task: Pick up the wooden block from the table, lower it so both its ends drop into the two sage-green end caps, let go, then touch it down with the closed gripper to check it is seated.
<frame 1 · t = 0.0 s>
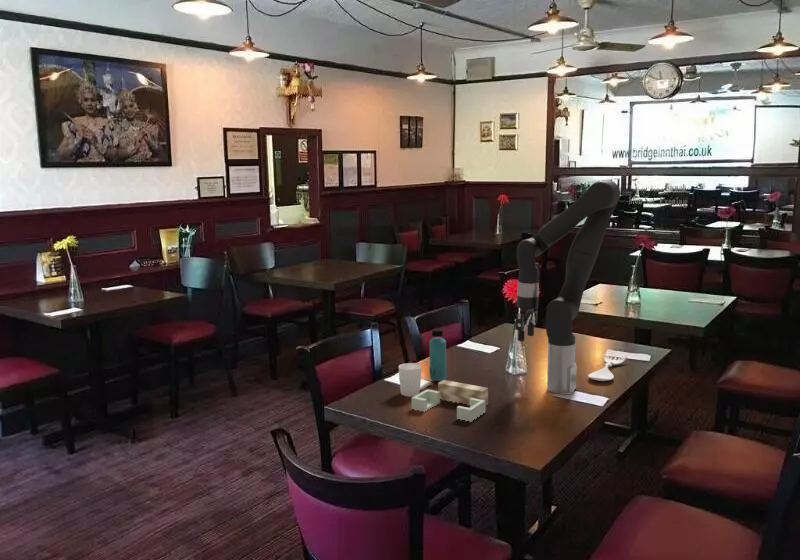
hand: (525, 338, 239), 17 cm above the table, tool pointing down, fingers open, 8 cm apart
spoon: (607, 373, 254), on the table
end cap a: (471, 415, 213), on the table
end cap b: (426, 406, 222), on the table
wooden block: (462, 402, 226), on the table
white cup: (410, 394, 235), on the table
beverage bottle: (438, 382, 247), on the table
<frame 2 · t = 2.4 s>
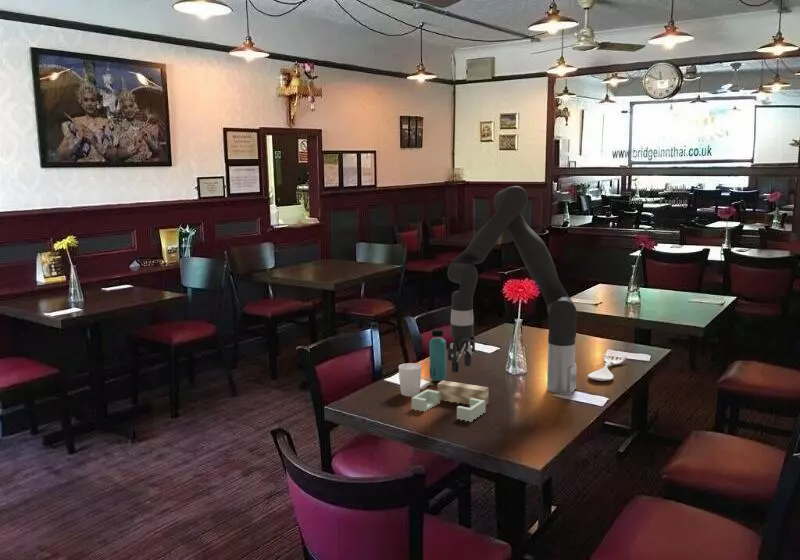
hand: (461, 368, 224), 11 cm above the table, tool pointing down, fingers open, 8 cm apart
nothing on the table moved.
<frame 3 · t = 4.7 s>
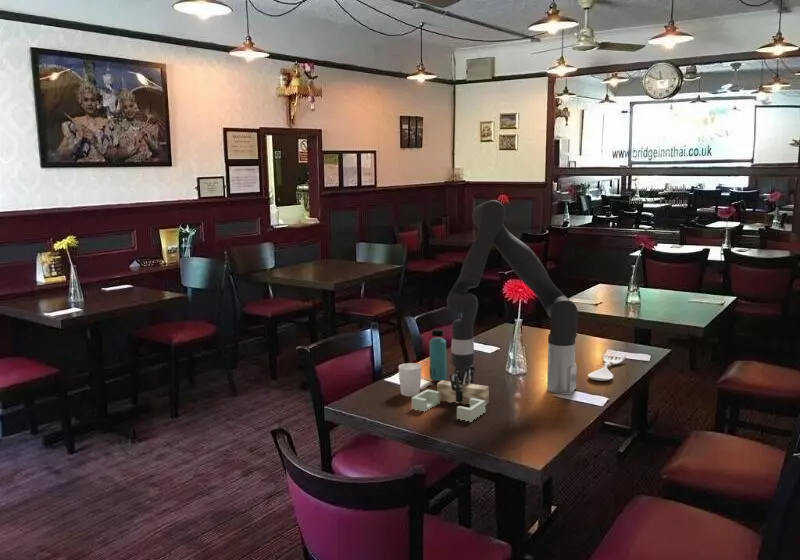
hand: (462, 399, 225), 1 cm above the table, tool pointing down, fingers closed on wooden block, 4 cm apart
wooden block: (462, 401, 226), on the table, touching gripper
everything else where it was.
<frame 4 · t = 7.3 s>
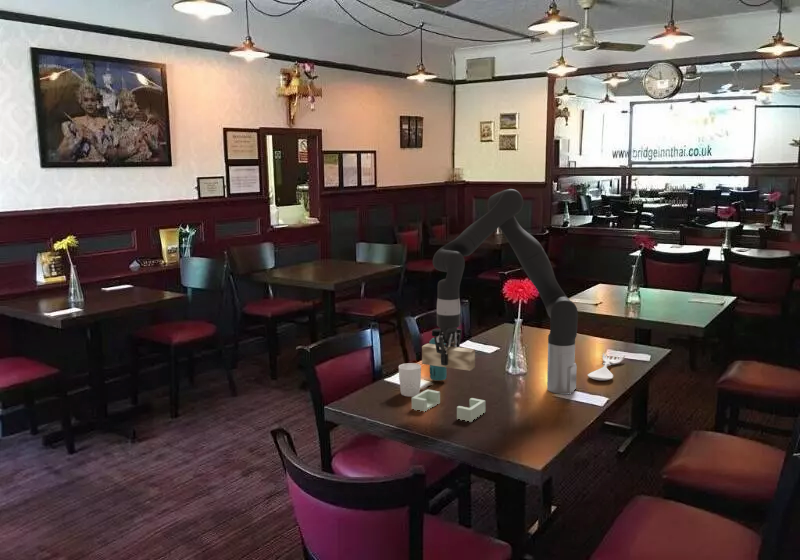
hand: (448, 362, 216), 16 cm above the table, tool pointing down, fingers closed on wooden block, 4 cm apart
wooden block: (448, 365, 217), point 15 cm above the table, touching gripper
everything else where it was.
when the fingers open (3 cm above the table, at t = 10.1 s): wooden block drops 1 cm, resting on end cap a, end cap b.
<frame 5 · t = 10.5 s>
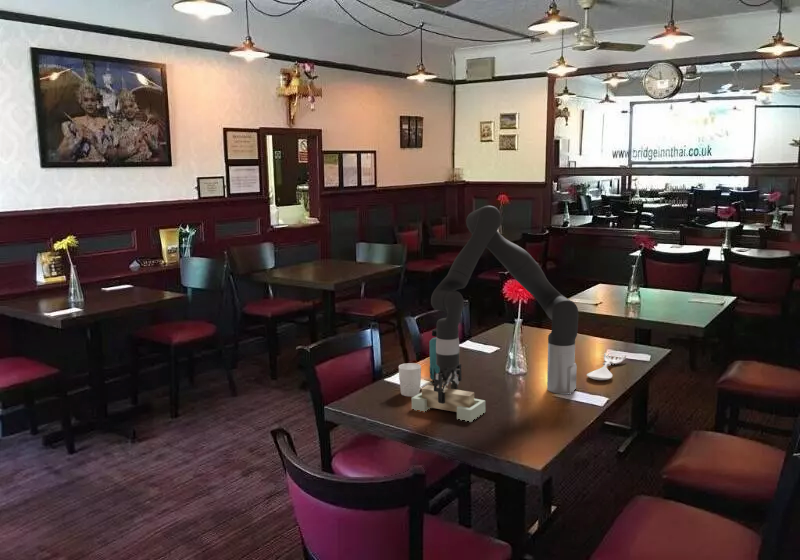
hand: (448, 399, 217), 4 cm above the table, tool pointing down, fingers open, 8 cm apart
wooden block: (447, 408, 217), point 1 cm above the table, touching end cap a, end cap b
everything else where it was.
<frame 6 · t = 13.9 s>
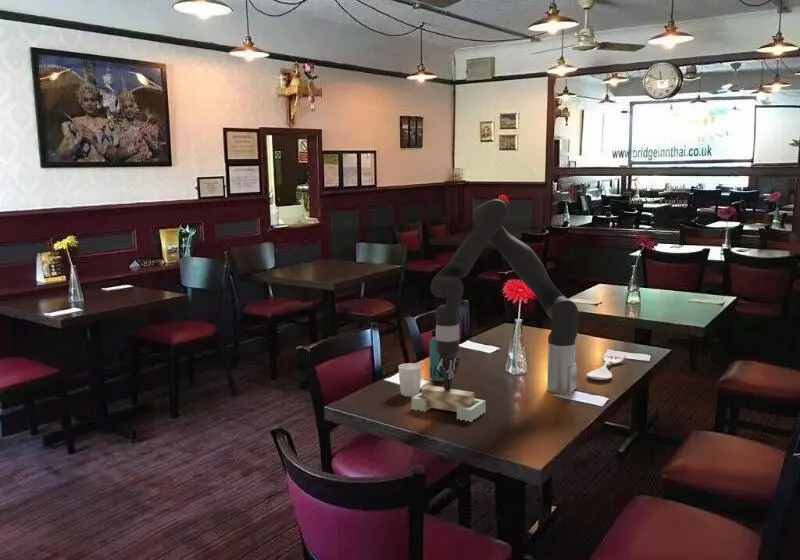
hand: (448, 389, 216), 7 cm above the table, tool pointing down, fingers closed
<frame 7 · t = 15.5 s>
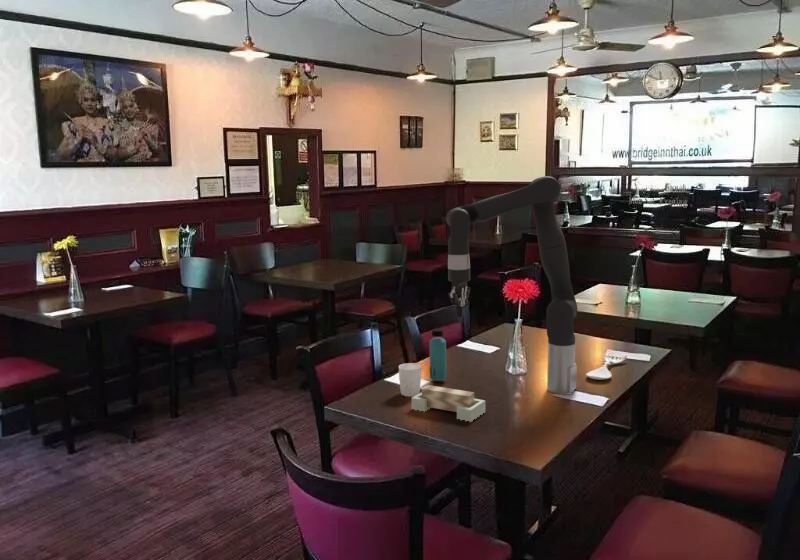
hand: (460, 316, 230), 28 cm above the table, tool pointing down, fingers closed
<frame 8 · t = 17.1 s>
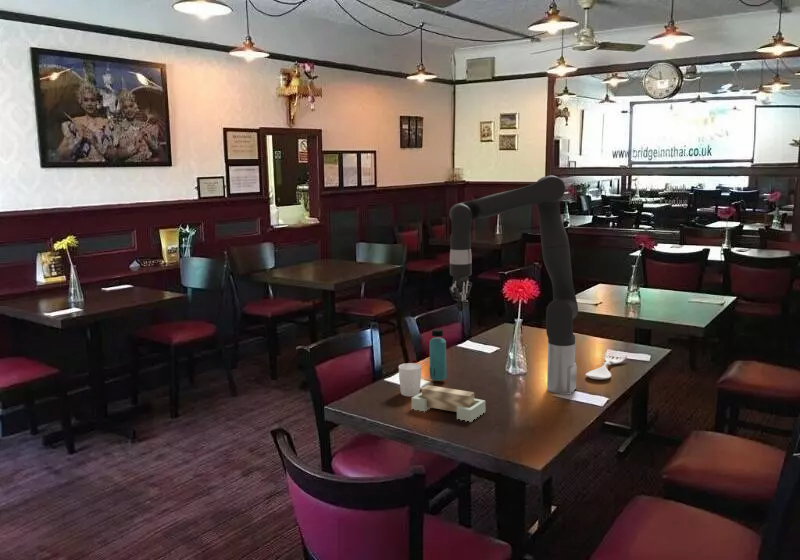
hand: (460, 310, 232), 29 cm above the table, tool pointing down, fingers closed
at the end: wooden block 0.1 cm from the target spot, point 1.0 cm above the table; wooden block tilted 0°; the gripper is holding nothing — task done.
